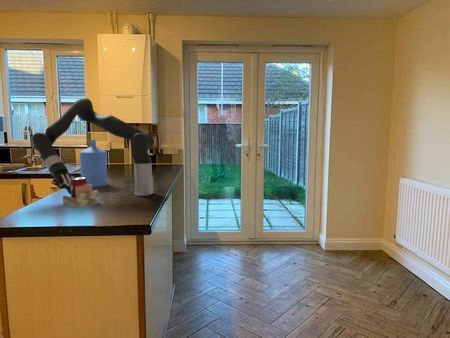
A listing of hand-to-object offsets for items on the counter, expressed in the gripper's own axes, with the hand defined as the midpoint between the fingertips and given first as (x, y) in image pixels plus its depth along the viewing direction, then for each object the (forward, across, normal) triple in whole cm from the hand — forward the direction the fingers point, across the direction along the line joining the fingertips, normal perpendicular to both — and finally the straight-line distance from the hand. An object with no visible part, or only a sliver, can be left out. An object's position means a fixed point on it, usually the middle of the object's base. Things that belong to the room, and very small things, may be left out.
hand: (73, 193), depth 158 cm
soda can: (+6, 0, 0) cm, 6 cm away
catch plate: (+8, 0, +3) cm, 9 cm away
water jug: (-17, -36, -24) cm, 46 cm away
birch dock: (+7, 0, +1) cm, 7 cm away
